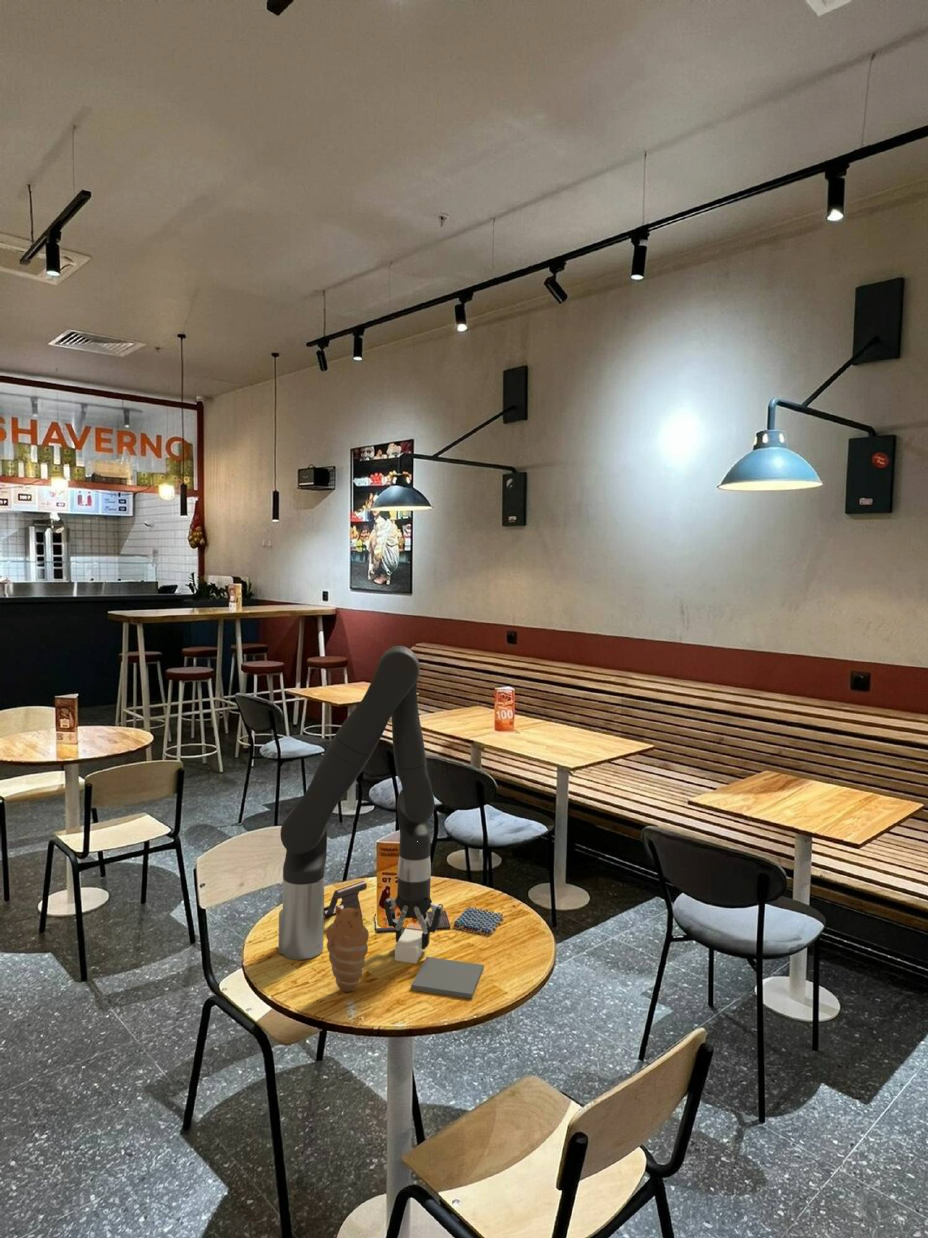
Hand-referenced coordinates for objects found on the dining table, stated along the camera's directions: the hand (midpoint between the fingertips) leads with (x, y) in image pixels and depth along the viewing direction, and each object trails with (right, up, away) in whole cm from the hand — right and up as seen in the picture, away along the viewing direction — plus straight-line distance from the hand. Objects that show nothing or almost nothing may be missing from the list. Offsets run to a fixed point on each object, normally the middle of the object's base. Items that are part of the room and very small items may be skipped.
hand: (412, 945), depth 176 cm
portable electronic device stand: (-18, 0, +16) cm, 24 cm away
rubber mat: (+8, -2, -12) cm, 15 cm away
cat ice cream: (-12, -2, -18) cm, 22 cm away
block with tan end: (0, -1, 0) cm, 1 cm away
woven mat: (+15, -1, +14) cm, 21 cm away
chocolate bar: (-1, -1, +14) cm, 14 cm away
